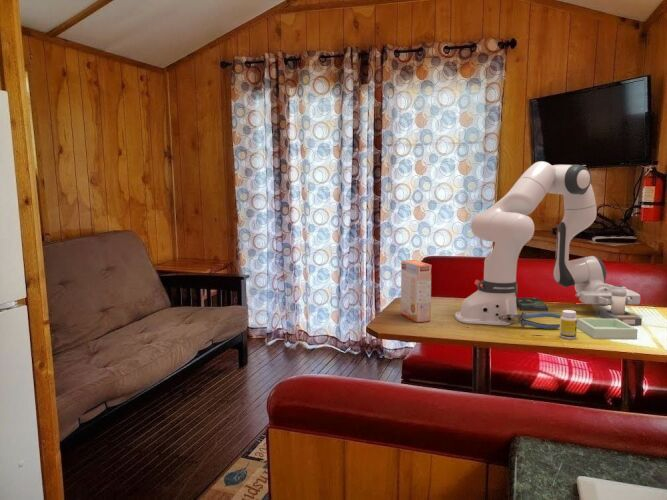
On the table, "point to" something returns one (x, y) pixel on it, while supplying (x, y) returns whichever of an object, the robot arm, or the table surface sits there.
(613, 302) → the fuse
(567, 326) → the supplement bottle
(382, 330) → the table surface
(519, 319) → the pliers
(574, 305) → the table surface
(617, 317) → the dark grey tray
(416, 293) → the cracker box
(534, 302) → the disk drive
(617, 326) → the tray
